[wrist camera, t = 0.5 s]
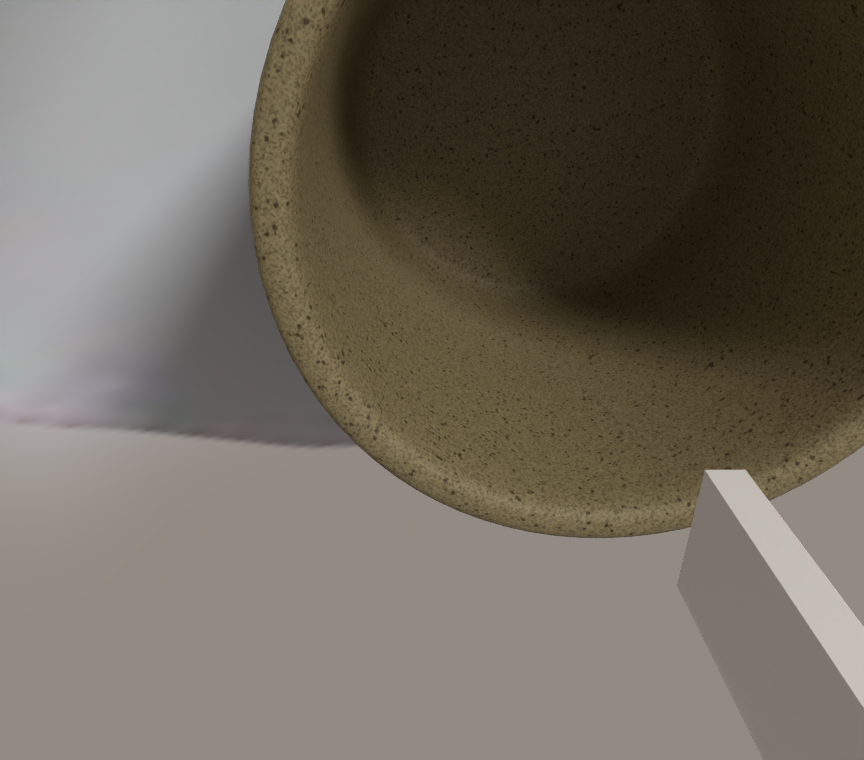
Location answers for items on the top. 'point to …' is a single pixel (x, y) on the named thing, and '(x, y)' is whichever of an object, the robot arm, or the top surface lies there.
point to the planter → (570, 245)
